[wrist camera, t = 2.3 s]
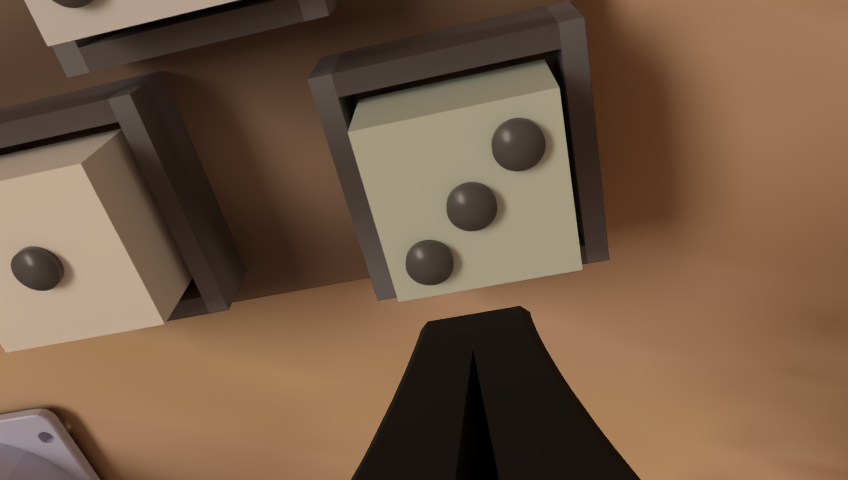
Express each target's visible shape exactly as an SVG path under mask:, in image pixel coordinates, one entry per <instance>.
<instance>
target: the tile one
mask: <svg viewBox="0 0 848 480" xmlns="http://www.w3.org/2000/svg"><path fill="white" fill-rule="evenodd" d="M192 278H193V277H192V275H191V273H190V271H189V269H188V267H187V265H186V263H185V260H184V258H183V256H182V254H181V252H180V250H179V248H178V246H177V244H176V242H175V240H174V237H173V235H172V233H171V231H170V229H169V227H168V225H167V223H166V221H165V219H164V216H163V214H162V212H161V210H160V208H159V206H158V204H157V202H156V200H155V198H154V196H153V193H152V191H151V189H150V187H149V185H148V183H147V181H146V179H145V177H144V175H143V172H142V170H141V168H140V166H139V164H138V162H137V160H136V158H135V156H134V154H133V152H132V149H131V147H130V145H129V143H128V141H127V139H126V137H125V135H124V133H123V131H122V128H121V129H117V130H112V131H108V132H103V133H99V134H94V135H90V136H85V137H81V138H76V139H72V140H68V141H63V142H59V143H54V144H50V145H45V146H41V147H36V148H32V149H27V150H23V151H18V152H14V153H9V154H5V155H0V344H1V346H2V347H3V349H4V350H5V352H6V353H8V352H13V351H19V350H24V349H30V348H35V347H41V346H47V345H52V344H58V343H63V342H69V341H74V340H80V339H86V338H91V337H97V336H102V335H108V334H113V333H119V332H125V331H130V330H136V329H141V328H147V327H153V326H158V325H164V324H165V323H166V322H167V320H168V318H169V317H170V315H171V313H172V312H173V310H174V308H175V307H176V305H177V303H178V302H179V300H180V298H181V297H182V295H183V293H184V292H185V290H186V288H187V286H188V285H189V283H190V281H191V280H192Z"/></svg>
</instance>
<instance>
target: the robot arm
mask: <svg viewBox="0 0 848 480" xmlns="http://www.w3.org/2000/svg"><path fill="white" fill-rule="evenodd" d="M0 480H100V479H99V477H98V476H97V474H96V473H95V471H94V470H93V468H92V467H91V465H90V464H89V463H88V461H87V460H86V458H85V457H84V455H83V454H82V452H81V451H80V449H79V448H78V446H77V445H76V444H75V442H74V441H73V439H72V438H71V436H70V435H69V433H68V432H67V430H66V429H65V427H64V426H63V425H62V423H61V422H60V420H59V419H58V417H57V416H56V415H55V414H54V413H53V412H51V411H49V410H46V409H32V410H25V411H19V412H13V413H7V414H1V415H0ZM351 480H641V479H640V478H639V477H638V476H637V475H636V473H635V472H634V471H633V470H632V469H631V467H630V466H629V465H628V464H627V462H626V461H625V460H624V459H623V458H622V456H621V455H620V454H619V453H618V452H617V450H616V449H615V448H614V447H613V445H612V444H611V443H610V441H609V440H608V439H607V438H606V436H605V435H604V434H603V432H602V431H601V430H600V428H599V427H598V426H597V424H596V423H595V422H594V420H593V419H592V418H591V416H590V415H589V413H588V412H587V411H586V409H585V408H584V406H583V405H582V404H581V402H580V401H579V399H578V398H577V397H576V395H575V394H574V392H573V391H572V390H571V388H570V387H569V385H568V384H567V382H566V381H565V379H564V378H563V376H562V375H561V373H560V371H559V370H558V368H557V366H556V365H555V363H554V361H553V360H552V358H551V356H550V355H549V353H548V351H547V350H546V348H545V346H544V344H543V342H542V340H541V338H540V336H539V334H538V332H537V330H536V328H535V325H534V323H533V321H532V318H531V314H530V312H529V311H527V310H526V309H524V308H523V307H521V306H517V307H511V308H505V309H499V310H493V311H487V312H482V313H476V314H470V315H464V316H458V317H452V318H446V319H440V320H435V321H429V322H427V323H426V325H425V326H424V327H423V328H422V330H421V332H420V335H419V338H418V341H417V343H416V346H415V348H414V351H413V353H412V356H411V358H410V361H409V363H408V366H407V368H406V370H405V373H404V375H403V377H402V380H401V382H400V384H399V386H398V388H397V391H396V393H395V395H394V397H393V400H392V402H391V404H390V406H389V408H388V410H387V412H386V414H385V416H384V418H383V420H382V422H381V424H380V426H379V428H378V430H377V432H376V434H375V436H374V438H373V440H372V442H371V444H370V446H369V448H368V450H367V452H366V454H365V456H364V458H363V460H362V461H361V463H360V465H359V467H358V468H357V470H356V472H355V474H354V475H353V477H352V479H351Z"/></svg>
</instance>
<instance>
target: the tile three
mask: <svg viewBox="0 0 848 480" xmlns="http://www.w3.org/2000/svg"><path fill="white" fill-rule="evenodd" d="M348 135H349V139H350V142H351V145H352V149H353V152H354V155H355V159H356V162H357V165H358V169H359V172H360V175H361V179H362V182H363V185H364V189H365V192H366V195H367V199H368V202H369V205H370V209H371V212H372V215H373V219H374V222H375V225H376V229H377V232H378V235H379V239H380V242H381V245H382V249H383V252H384V255H385V259H386V262H387V265H388V269H389V272H390V276H391V279H392V282H393V286H394V289H395V292H396V296H397V299H398V302H402V301H407V300H413V299H419V298H424V297H430V296H436V295H442V294H447V293H453V292H459V291H464V290H470V289H476V288H481V287H487V286H493V285H499V284H504V283H510V282H516V281H521V280H527V279H533V278H538V277H544V276H550V275H556V274H561V273H567V272H573V271H578V270H583V269H582V261H581V253H580V245H579V237H578V230H577V222H576V214H575V206H574V198H573V190H572V182H571V175H570V167H569V159H568V151H567V143H566V135H565V127H564V119H563V112H562V104H561V96H560V88H559V86H558V84H557V82H556V80H555V78H554V76H553V75H552V73H551V71H550V69H549V67H548V65H547V63H546V62H545V60H544V59H542V60H537V61H533V62H528V63H524V64H519V65H514V66H510V67H505V68H501V69H496V70H491V71H487V72H482V73H478V74H473V75H469V76H464V77H459V78H455V79H450V80H446V81H441V82H436V83H432V84H427V85H423V86H418V87H414V88H409V89H404V90H400V91H395V92H391V93H386V94H381V95H377V96H372V97H368V98H363V99H359V101H358V104H357V106H356V109H355V112H354V115H353V118H352V121H351V124H350V127H349V130H348Z"/></svg>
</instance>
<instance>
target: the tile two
mask: <svg viewBox="0 0 848 480" xmlns="http://www.w3.org/2000/svg"><path fill="white" fill-rule="evenodd" d="M24 1H25V3H26V5H27V7H28V9H29V11H30V13H31V15H32V17H33V19H34V21H35V23H36V25H37V27H38V29H39V31H40V33H41V34H42V36H43V38H44V40H45V42H46V44H47V46H52V45H57V44H61V43H65V42H69V41H73V40H77V39H81V38H85V37H89V36H93V35H97V34H102V33H106V32H110V31H114V30H118V29H122V28H126V27H130V26H134V25H138V24H143V23H147V22H151V21H155V20H159V19H163V18H167V17H171V16H175V15H179V14H183V13H188V12H192V11H196V10H200V9H204V8H208V7H212V6H216V5H220V4H224V3H228V2H233V1H237V0H24Z"/></svg>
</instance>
